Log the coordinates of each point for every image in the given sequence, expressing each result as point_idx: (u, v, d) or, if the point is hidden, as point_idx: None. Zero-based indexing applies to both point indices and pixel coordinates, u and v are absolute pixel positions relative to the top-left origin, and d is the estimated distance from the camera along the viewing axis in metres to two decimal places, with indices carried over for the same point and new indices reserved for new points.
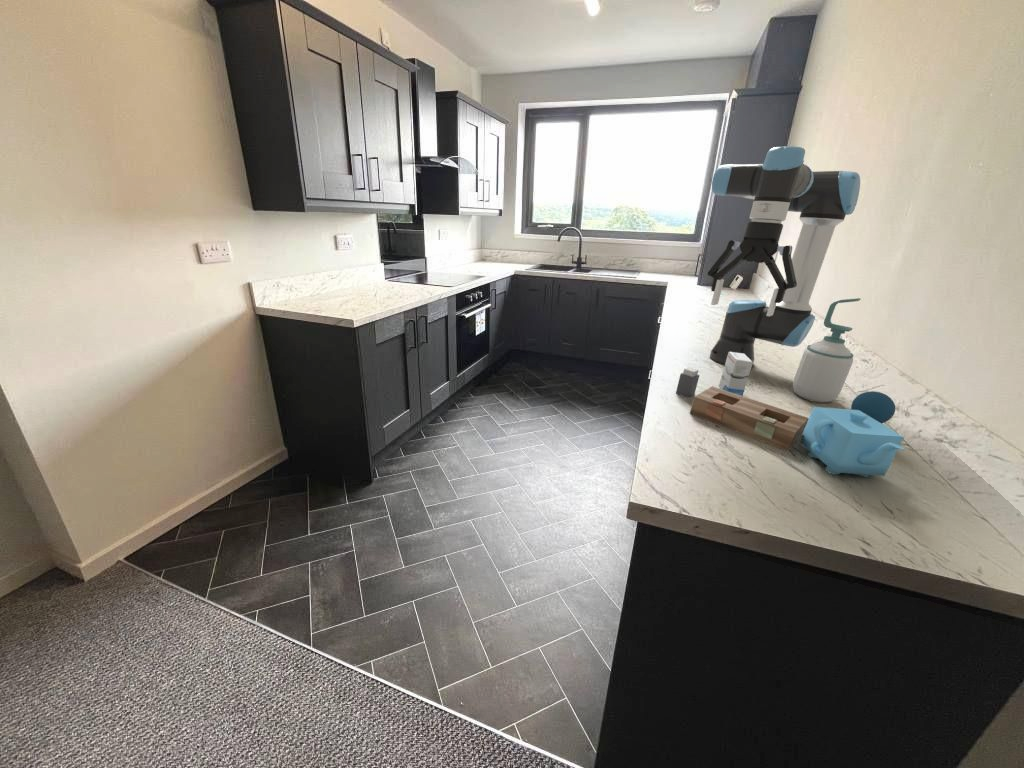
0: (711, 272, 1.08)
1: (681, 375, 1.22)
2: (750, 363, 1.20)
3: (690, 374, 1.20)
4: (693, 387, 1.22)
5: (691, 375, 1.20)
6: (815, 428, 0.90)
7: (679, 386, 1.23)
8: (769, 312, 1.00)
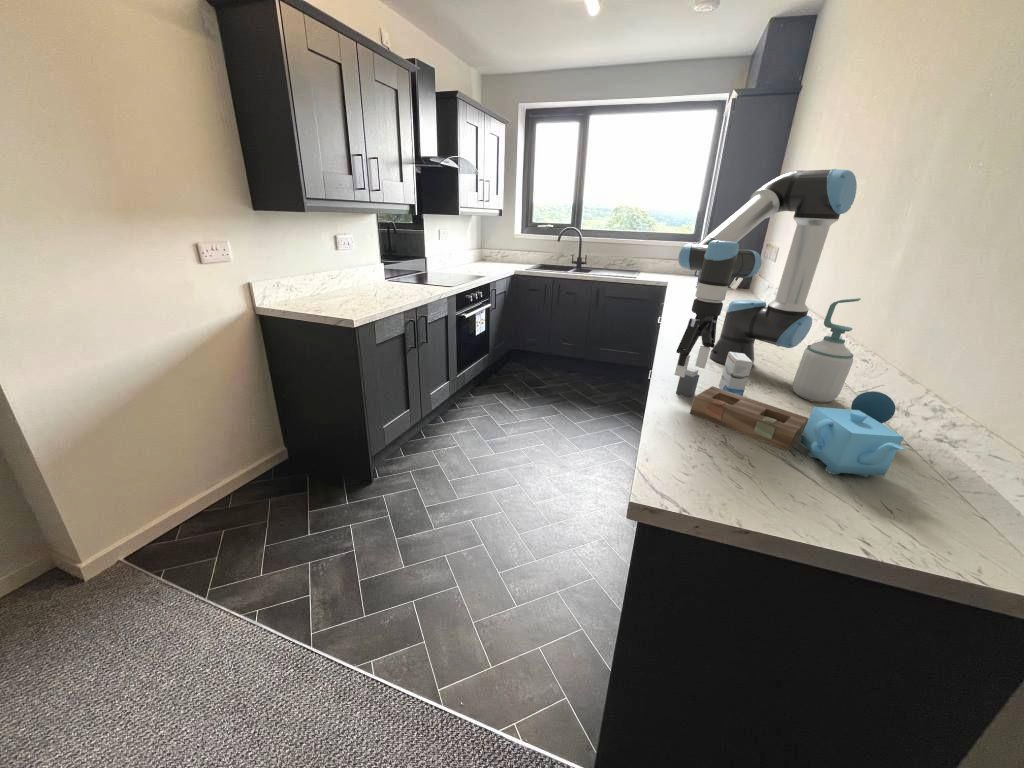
0: None
1: None
2: (750, 363, 1.20)
3: (690, 374, 1.20)
4: (693, 387, 1.22)
5: (691, 375, 1.20)
6: (815, 428, 0.90)
7: (679, 386, 1.23)
8: None
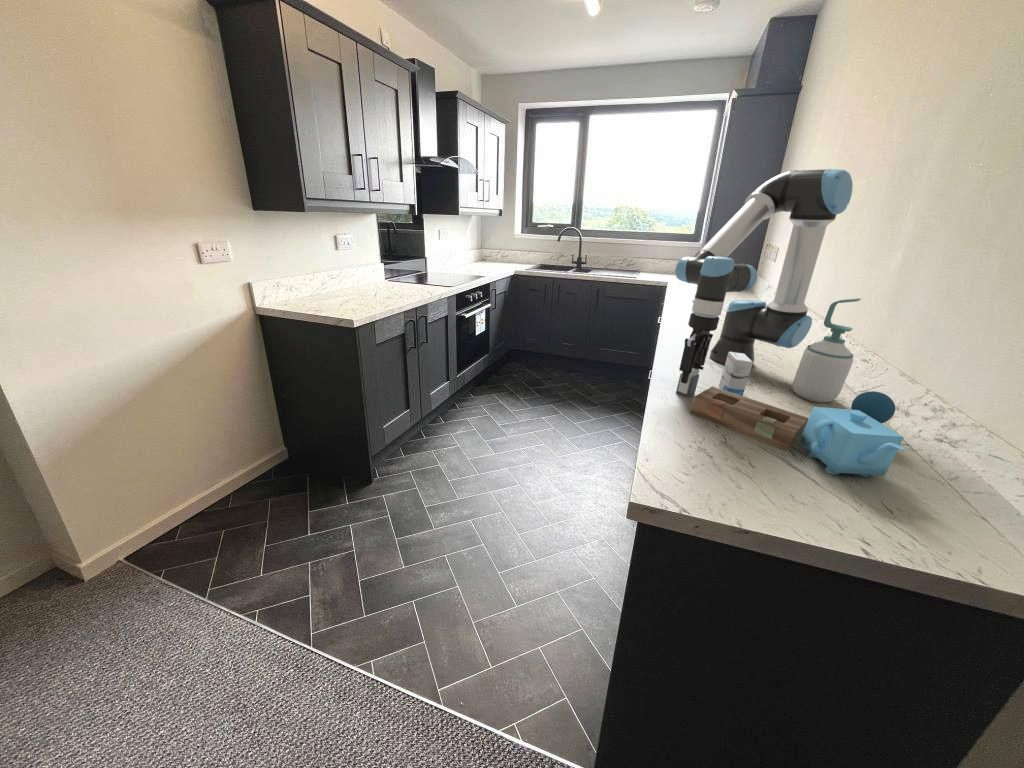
0: None
1: None
2: (750, 363, 1.20)
3: None
4: (693, 387, 1.22)
5: None
6: (815, 428, 0.90)
7: None
8: None
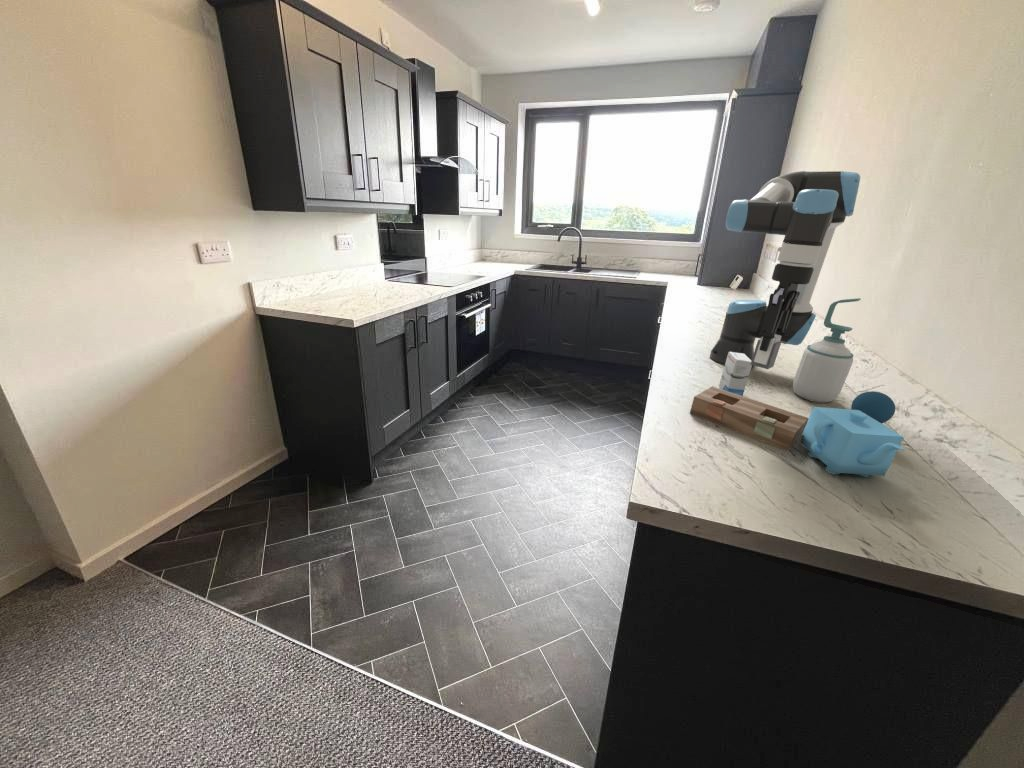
0: None
1: (759, 342, 1.00)
2: (750, 363, 1.20)
3: None
4: (773, 356, 1.00)
5: None
6: (815, 428, 0.90)
7: (755, 355, 1.02)
8: (755, 357, 1.01)
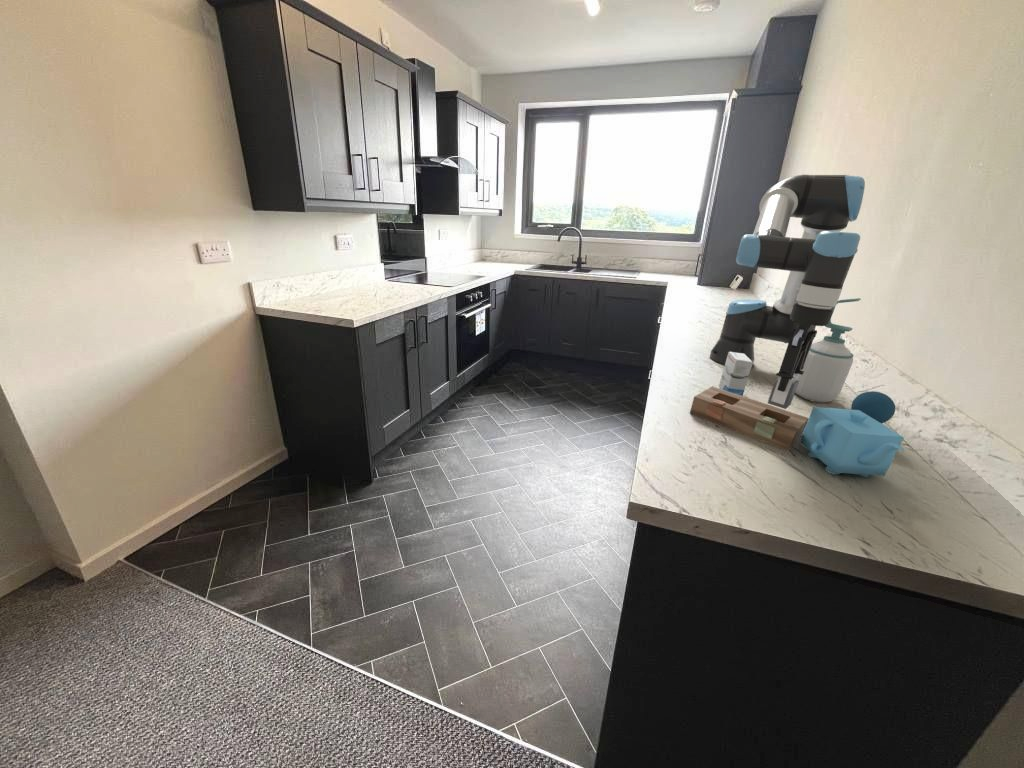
0: None
1: (776, 381, 0.99)
2: (750, 363, 1.20)
3: None
4: (791, 396, 0.99)
5: None
6: (815, 428, 0.90)
7: None
8: (772, 397, 1.00)
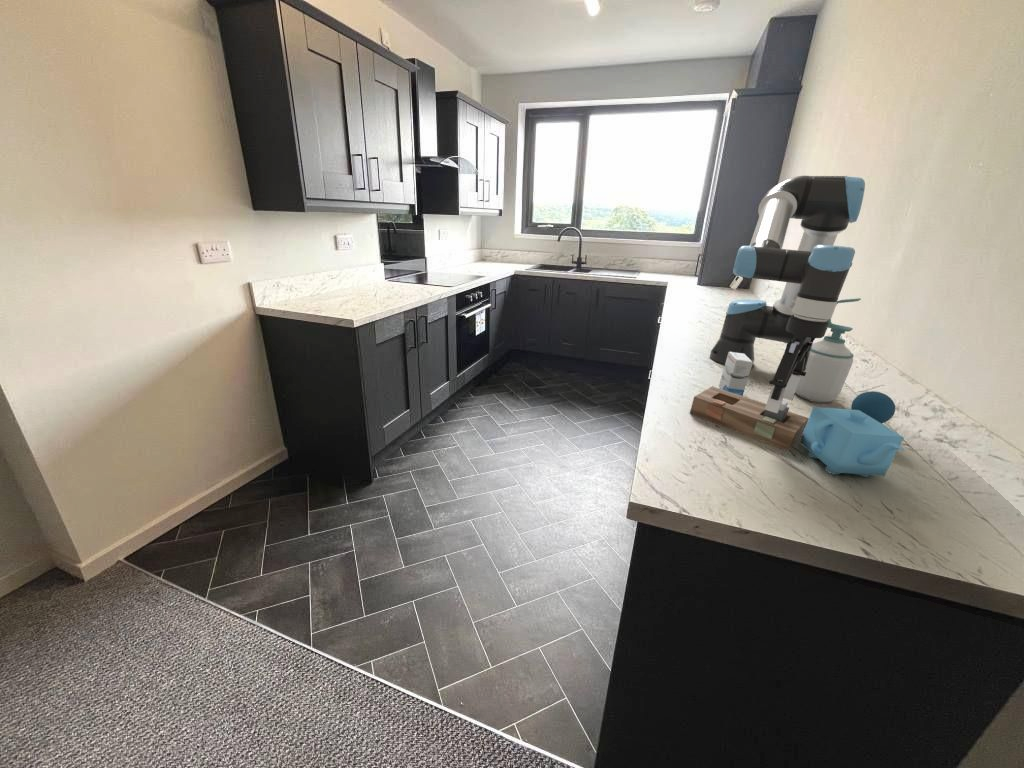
0: None
1: None
2: (750, 363, 1.20)
3: None
4: None
5: (780, 408, 1.00)
6: (815, 428, 0.90)
7: None
8: (766, 405, 0.98)
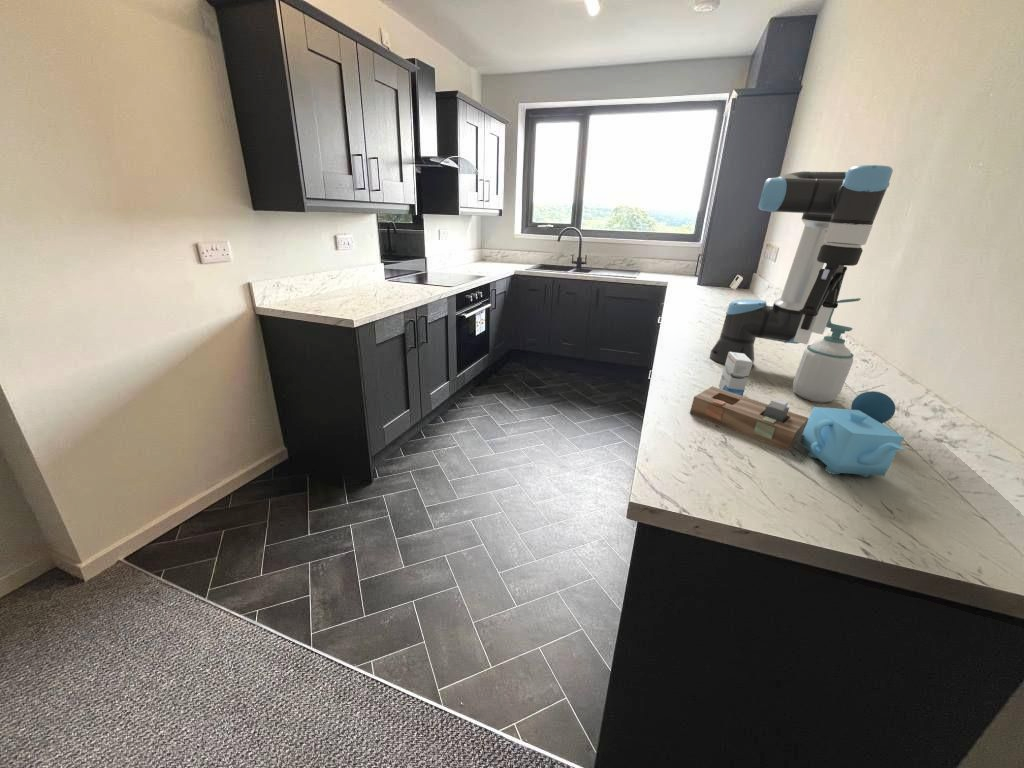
0: None
1: (767, 408, 1.02)
2: (750, 363, 1.20)
3: (779, 407, 1.00)
4: None
5: (780, 408, 1.00)
6: (815, 428, 0.90)
7: None
8: (795, 337, 0.95)
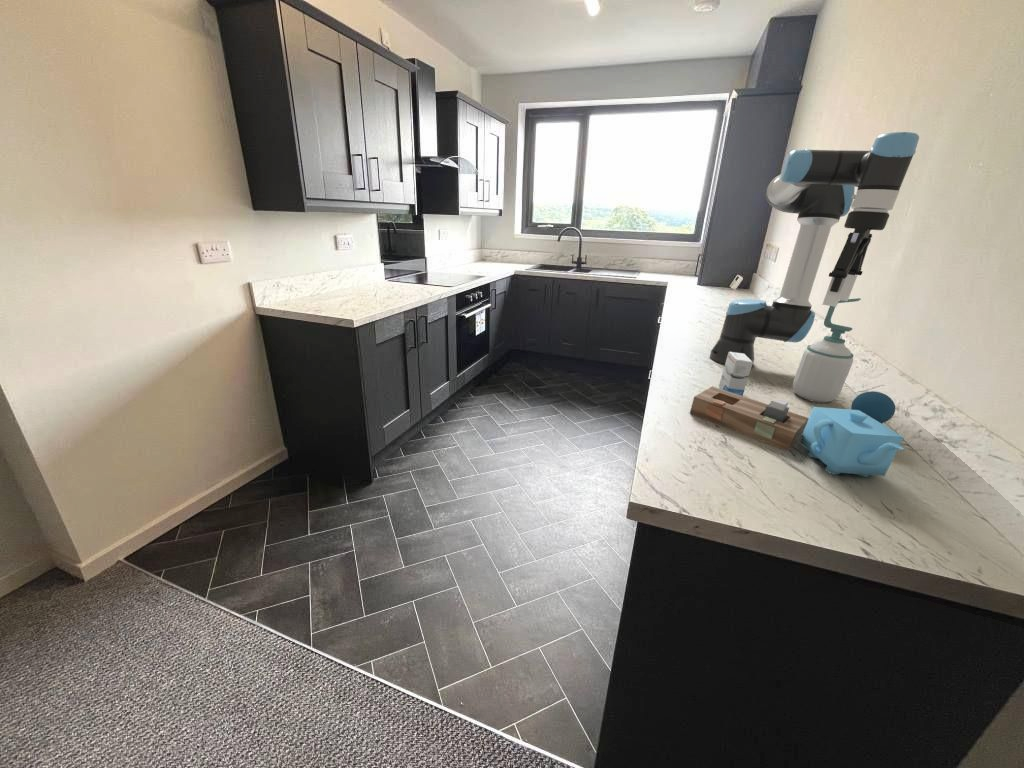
0: None
1: (767, 408, 1.02)
2: (750, 363, 1.20)
3: (779, 407, 1.00)
4: None
5: (780, 408, 1.00)
6: (815, 428, 0.90)
7: None
8: None
